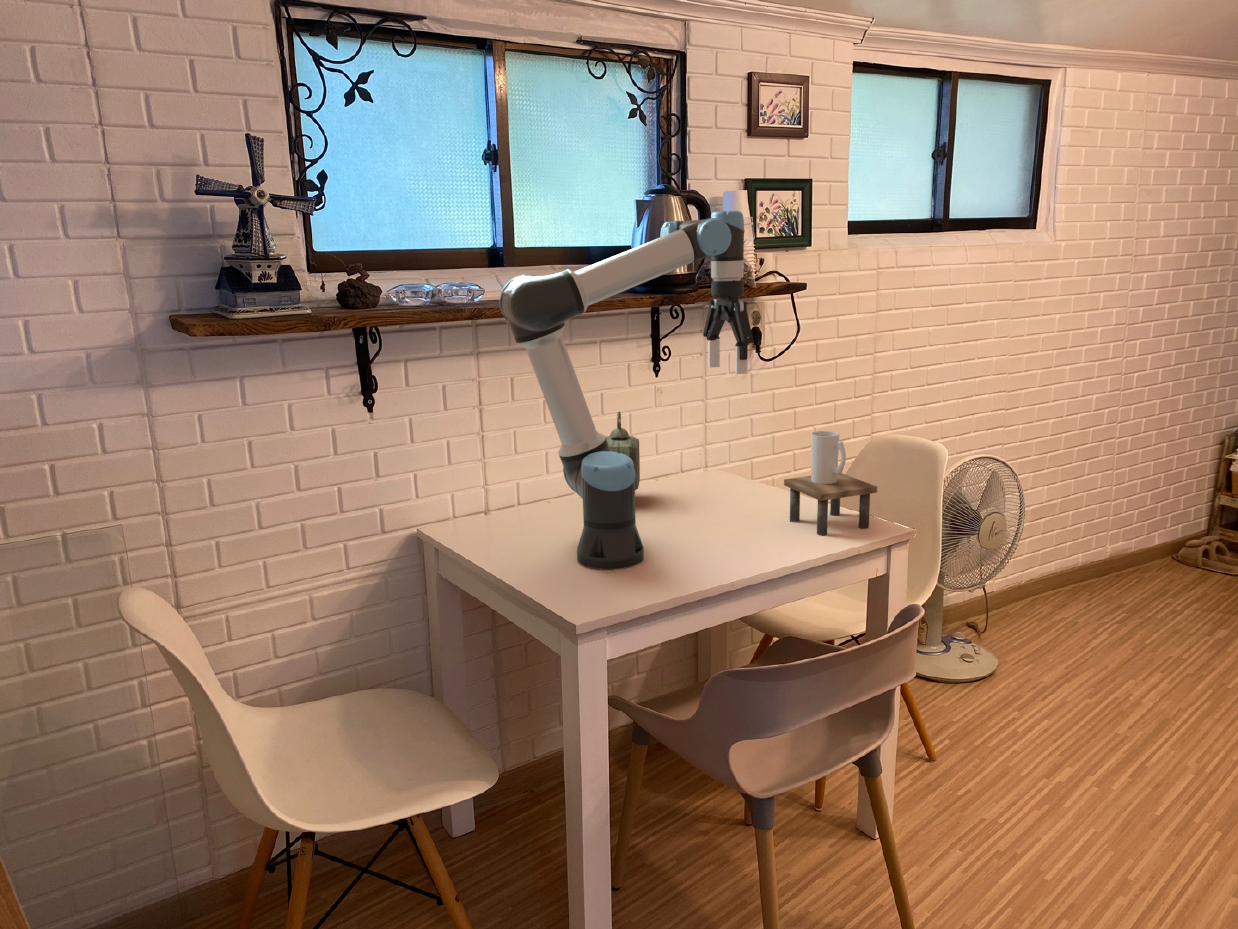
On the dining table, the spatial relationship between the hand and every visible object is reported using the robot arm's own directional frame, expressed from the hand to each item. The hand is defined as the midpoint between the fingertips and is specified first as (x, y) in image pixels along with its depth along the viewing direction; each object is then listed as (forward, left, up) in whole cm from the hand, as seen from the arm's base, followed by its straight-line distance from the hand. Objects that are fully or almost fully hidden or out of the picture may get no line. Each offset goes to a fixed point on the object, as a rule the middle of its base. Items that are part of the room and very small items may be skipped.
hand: (727, 370), depth 220 cm
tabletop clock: (-15, +32, -39) cm, 53 cm away
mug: (+23, -10, -28) cm, 38 cm away
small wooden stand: (+23, -10, -39) cm, 46 cm away
